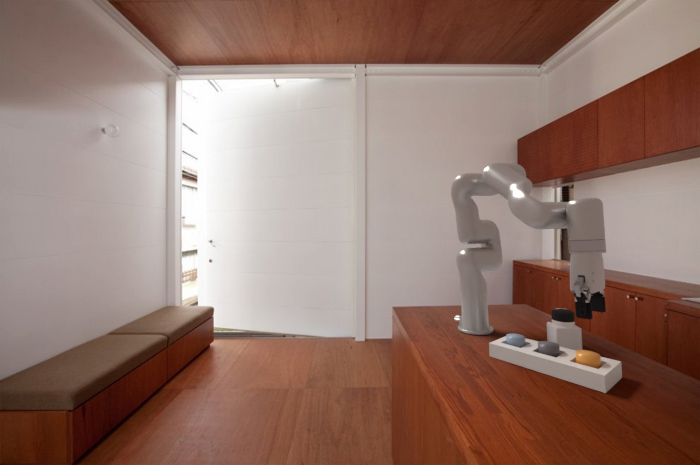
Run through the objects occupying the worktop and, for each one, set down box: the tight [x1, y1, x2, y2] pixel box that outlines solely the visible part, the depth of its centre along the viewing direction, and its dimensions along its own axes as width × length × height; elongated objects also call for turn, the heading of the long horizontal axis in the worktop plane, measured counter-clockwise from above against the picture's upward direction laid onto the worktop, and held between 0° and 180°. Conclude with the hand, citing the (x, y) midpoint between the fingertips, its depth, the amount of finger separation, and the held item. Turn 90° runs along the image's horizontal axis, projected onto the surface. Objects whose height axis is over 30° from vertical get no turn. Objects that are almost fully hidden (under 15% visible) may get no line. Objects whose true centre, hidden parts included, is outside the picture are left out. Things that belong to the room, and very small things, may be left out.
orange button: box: [575, 349, 602, 369], centre depth 77 cm, size 5×5×4 cm
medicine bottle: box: [546, 307, 584, 351], centre depth 97 cm, size 7×7×12 cm
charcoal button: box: [538, 340, 560, 357], centre depth 84 cm, size 5×5×4 cm
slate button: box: [505, 332, 526, 348], centre depth 92 cm, size 5×5×4 cm
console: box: [488, 335, 623, 394], centre depth 84 cm, size 28×12×4 cm, turn 35°
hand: (591, 314), depth 77 cm, fingers open, 9 cm apart
